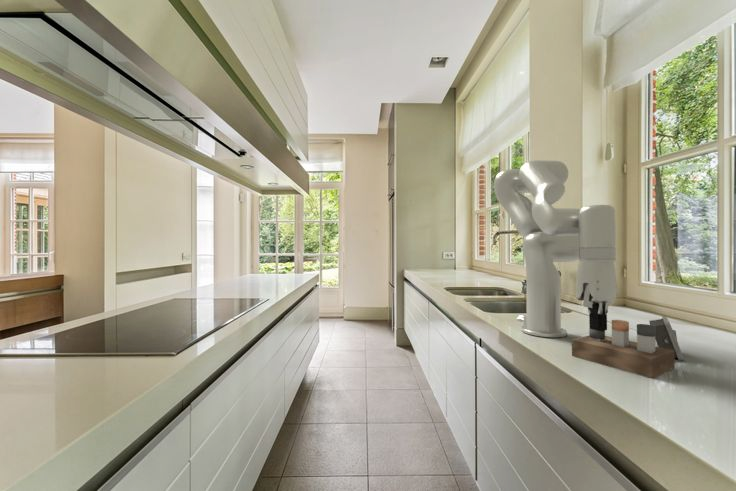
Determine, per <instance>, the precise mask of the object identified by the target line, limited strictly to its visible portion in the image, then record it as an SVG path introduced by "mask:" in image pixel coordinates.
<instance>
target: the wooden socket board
mask: <svg viewBox="0 0 736 491" xmlns="http://www.w3.org/2000/svg"><path fill="white" fill-rule="evenodd" d="M571 356H572V357H575V358H578V359H583V360H585V361H589V362H593V363H595V364H599V365H604V366H607V367H610V368H614V369H618V370H622V371H625V372H628V373H632V374H635V373H636V375H640V376H642V375H643V376H642V377H646V376H647V377H646V378H649V379H653V378H655V377H657V376H661V375H663V374H664V372H665V373H667V372H670V371H672V370H674V369H675V359H676V357H675V350H670V349H665V348H661V347H658V346H656V345H655V352H654V353H652V354H651V353H647V352H643V351H638V350H637V341H632V340H629V346H627V347H621V346H616V345H612V336H608V335H605V341H602V342H599V341H595V340H590V339H589V335H585V336H581V337H577V338H572V339H571ZM662 373H663V374H662Z"/></svg>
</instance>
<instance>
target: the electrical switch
mask: <svg viewBox="0 0 736 491" xmlns="http://www.w3.org/2000/svg"><path fill="white" fill-rule="evenodd" d="M648 322H649V325H653V326H655V327H656V336H655V343H656V344H657V347H661V348H665V349H670V350H675V358H677V360H678V361H684V357H683V354H682V351H681V348H680V346H679V341H678V336H677V331H676V329H673V327H672V325H671V322H670V321H669V318H668V317H667V315H661V318H660V319H653V320H649V321H648Z"/></svg>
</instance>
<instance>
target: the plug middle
mask: <svg viewBox="0 0 736 491" xmlns="http://www.w3.org/2000/svg"><path fill="white" fill-rule="evenodd" d="M611 337H612V345H616V346H621V347H627V346H629V341H630V322H629V321H628V320H623V319H611Z"/></svg>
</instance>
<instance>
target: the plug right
mask: <svg viewBox="0 0 736 491" xmlns="http://www.w3.org/2000/svg"><path fill="white" fill-rule="evenodd" d="M655 336H656V327H655V326H653V325H650V324H648V323H647V324H646V323H637V324H636V342H637V350H638V351H643V352H647V353H651V354H652V353H654V352H655V346H656V340H655Z"/></svg>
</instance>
